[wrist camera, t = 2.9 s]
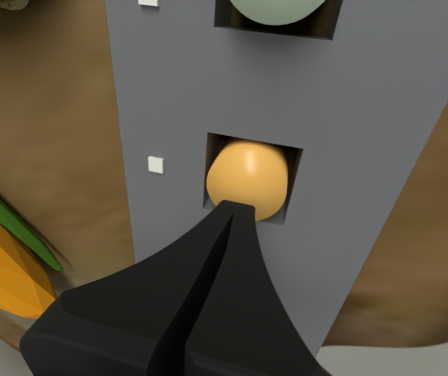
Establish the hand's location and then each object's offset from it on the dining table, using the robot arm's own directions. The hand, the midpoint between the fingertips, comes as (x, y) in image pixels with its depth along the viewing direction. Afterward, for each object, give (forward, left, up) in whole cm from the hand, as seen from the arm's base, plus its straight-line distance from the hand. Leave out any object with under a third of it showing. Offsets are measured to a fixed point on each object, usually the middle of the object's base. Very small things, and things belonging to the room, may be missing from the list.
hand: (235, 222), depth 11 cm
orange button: (0, 0, -6) cm, 6 cm away
